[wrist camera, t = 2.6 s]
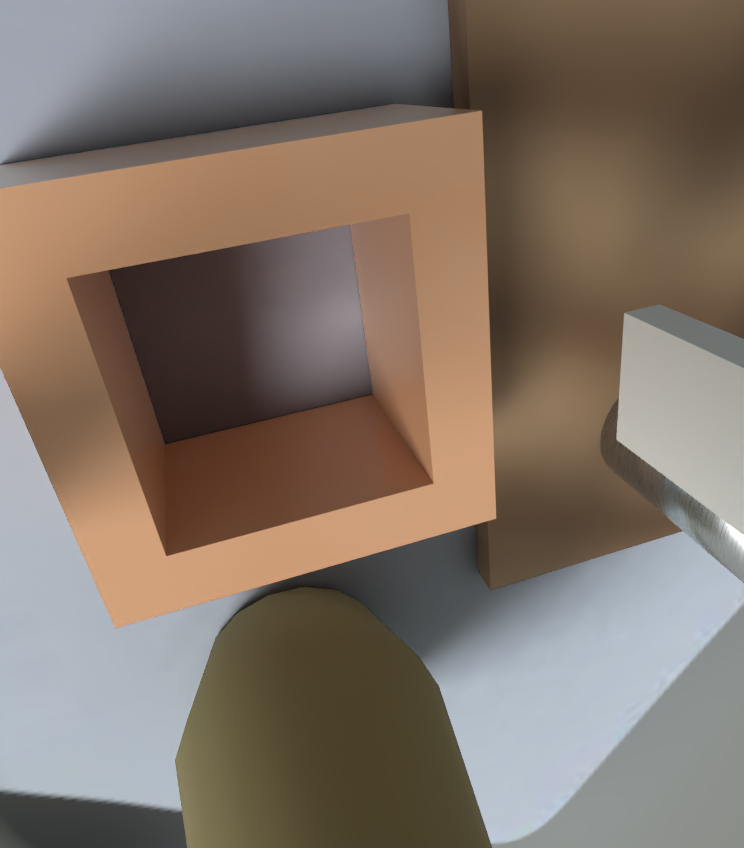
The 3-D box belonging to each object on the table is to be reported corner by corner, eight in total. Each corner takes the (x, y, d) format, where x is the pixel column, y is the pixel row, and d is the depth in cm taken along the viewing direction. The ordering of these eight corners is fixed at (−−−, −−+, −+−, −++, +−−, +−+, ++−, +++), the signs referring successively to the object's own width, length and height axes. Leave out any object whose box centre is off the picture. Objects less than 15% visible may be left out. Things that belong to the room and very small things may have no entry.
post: (603, 384, 20) (755, 487, 15) (715, 356, 21) (896, 444, 16) (597, 490, 22) (729, 613, 17) (699, 461, 23) (856, 570, 18)
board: (446, -28, 15) (463, -36, 14) (876, -79, 17) (914, -88, 16) (478, 572, 24) (490, 590, 23) (759, 487, 26) (779, 500, 25)
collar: (-2, 164, 14) (-73, 200, 10) (394, 103, 16) (482, 110, 11) (125, 502, 18) (115, 628, 14) (424, 426, 20) (496, 518, 16)
